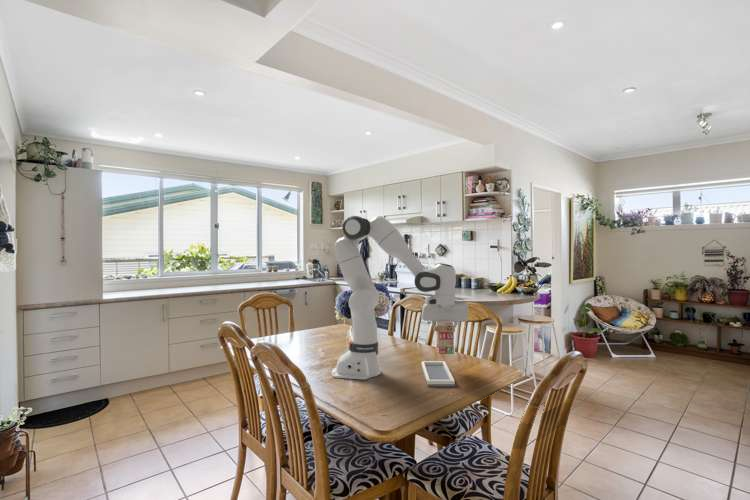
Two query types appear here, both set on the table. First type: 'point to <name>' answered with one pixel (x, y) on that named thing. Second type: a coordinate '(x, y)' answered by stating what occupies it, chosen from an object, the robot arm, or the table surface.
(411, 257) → the robot arm
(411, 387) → the table surface
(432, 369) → the base plate
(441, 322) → the printed food box
